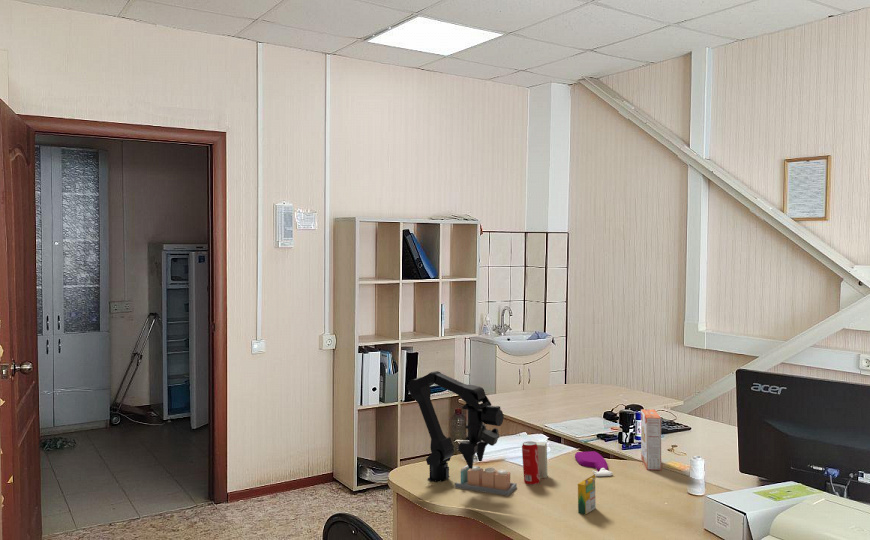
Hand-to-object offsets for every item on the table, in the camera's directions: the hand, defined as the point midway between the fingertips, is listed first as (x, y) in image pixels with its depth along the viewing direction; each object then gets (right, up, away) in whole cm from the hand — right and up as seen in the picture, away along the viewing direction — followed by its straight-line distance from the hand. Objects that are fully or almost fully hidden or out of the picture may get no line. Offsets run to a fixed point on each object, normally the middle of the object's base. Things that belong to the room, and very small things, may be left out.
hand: (475, 464), depth 253 cm
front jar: (+9, -8, -4) cm, 13 cm away
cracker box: (+71, -7, +24) cm, 76 cm away
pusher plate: (-4, -7, +2) cm, 8 cm away
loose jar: (0, -8, 0) cm, 8 cm away
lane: (+4, -8, -1) cm, 9 cm away
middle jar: (+5, -8, -2) cm, 10 cm away
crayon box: (+35, -9, -23) cm, 43 cm away
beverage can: (+21, -8, +4) cm, 23 cm away
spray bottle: (+49, -8, +23) cm, 54 cm away
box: (+25, -8, +11) cm, 29 cm away
